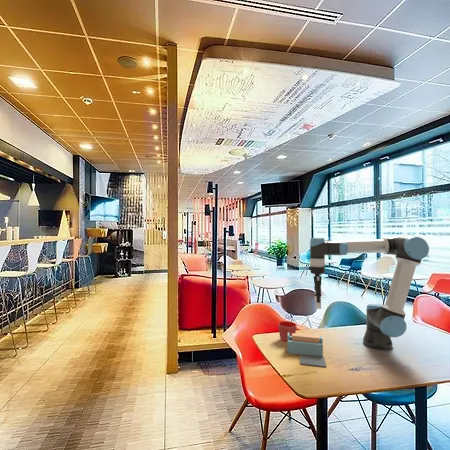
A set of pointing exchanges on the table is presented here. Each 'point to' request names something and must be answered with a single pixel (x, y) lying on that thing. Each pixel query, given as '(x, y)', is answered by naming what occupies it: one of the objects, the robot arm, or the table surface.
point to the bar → (305, 338)
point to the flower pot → (286, 329)
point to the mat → (312, 361)
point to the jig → (305, 347)
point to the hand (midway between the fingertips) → (317, 305)
